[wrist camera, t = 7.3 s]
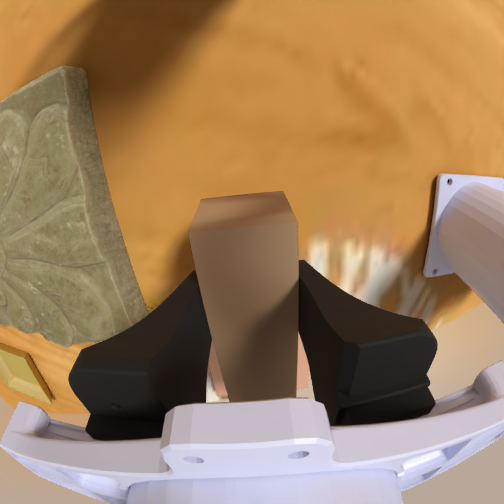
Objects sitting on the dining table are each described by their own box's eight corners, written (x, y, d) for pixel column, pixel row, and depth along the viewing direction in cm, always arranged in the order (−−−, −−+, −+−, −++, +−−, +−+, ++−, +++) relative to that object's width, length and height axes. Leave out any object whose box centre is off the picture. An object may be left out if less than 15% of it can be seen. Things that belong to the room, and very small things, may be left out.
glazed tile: (313, 331, 20) (307, 388, 23) (309, 317, 21) (304, 374, 25) (202, 340, 20) (216, 395, 23) (204, 326, 21) (217, 382, 24)
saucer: (13, 376, 26) (7, 387, 24) (-14, 330, 22) (-22, 340, 20) (58, 393, 26) (53, 405, 25) (32, 346, 23) (24, 359, 21)
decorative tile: (-57, 163, 13) (-81, 173, 10) (90, 64, 13) (59, 58, 9) (4, 324, 22) (-12, 344, 18) (156, 318, 21) (145, 350, 18)
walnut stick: (282, 190, 12) (297, 221, 9) (288, 372, 18) (295, 416, 15) (201, 199, 12) (187, 232, 9) (235, 376, 18) (235, 421, 15)
